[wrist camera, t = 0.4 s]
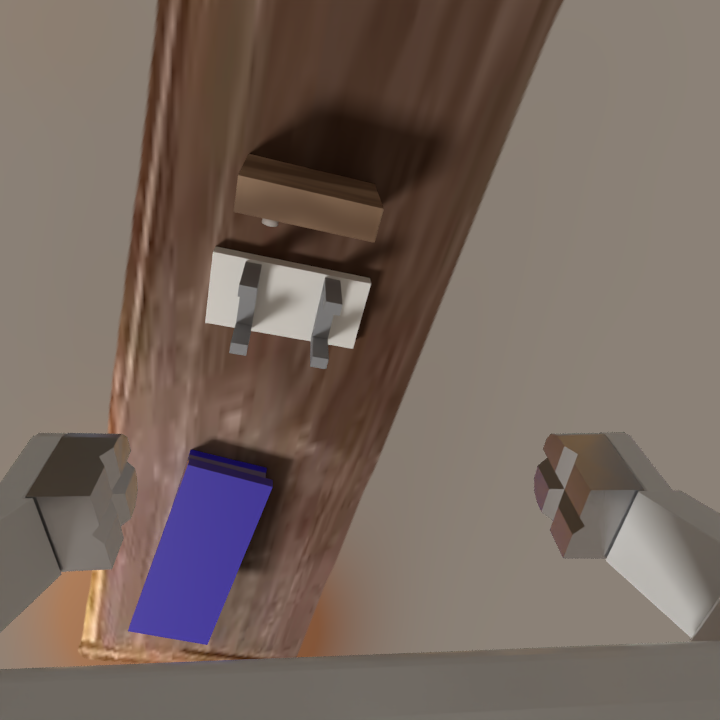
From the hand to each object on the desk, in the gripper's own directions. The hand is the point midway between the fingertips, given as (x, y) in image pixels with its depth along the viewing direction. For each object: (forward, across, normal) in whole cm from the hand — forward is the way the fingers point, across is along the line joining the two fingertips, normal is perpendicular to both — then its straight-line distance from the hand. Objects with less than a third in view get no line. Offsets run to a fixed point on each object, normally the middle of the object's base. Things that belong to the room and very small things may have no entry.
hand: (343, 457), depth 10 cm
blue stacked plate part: (+45, +15, +54) cm, 71 cm away
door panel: (+44, +1, +6) cm, 45 cm away
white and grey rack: (+44, +3, +18) cm, 48 cm away
